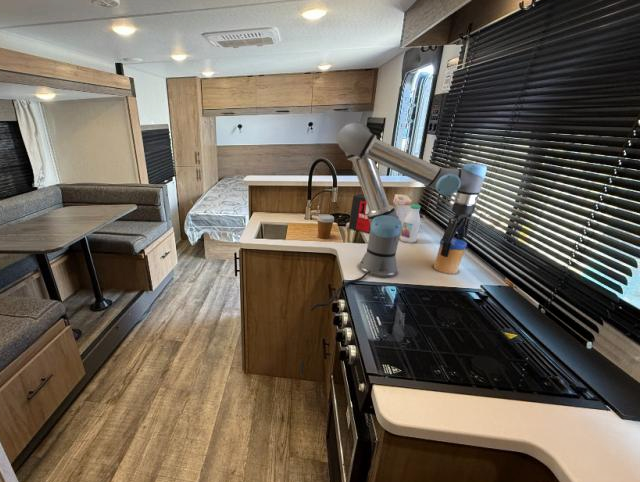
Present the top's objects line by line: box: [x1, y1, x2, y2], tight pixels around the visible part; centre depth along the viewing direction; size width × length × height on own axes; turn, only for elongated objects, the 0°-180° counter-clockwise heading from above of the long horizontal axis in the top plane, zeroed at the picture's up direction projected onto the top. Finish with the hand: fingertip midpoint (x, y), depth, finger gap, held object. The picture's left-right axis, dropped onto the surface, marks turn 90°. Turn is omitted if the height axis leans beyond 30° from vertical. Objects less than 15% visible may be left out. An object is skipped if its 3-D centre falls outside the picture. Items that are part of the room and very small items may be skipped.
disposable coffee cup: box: [316, 213, 335, 240], centre depth 172 cm, size 10×10×12 cm
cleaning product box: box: [348, 193, 389, 235], centre depth 181 cm, size 16×9×20 cm, turn 44°
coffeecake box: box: [392, 193, 413, 234], centre depth 183 cm, size 15×7×20 cm, turn 163°
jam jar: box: [433, 243, 466, 275], centre depth 134 cm, size 9×9×13 cm
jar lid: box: [439, 237, 468, 250], centre depth 132 cm, size 10×10×2 cm
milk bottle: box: [399, 203, 422, 244], centre depth 165 cm, size 8×8×20 cm
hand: (449, 253), depth 134 cm, fingers closed on jar lid, 9 cm apart
